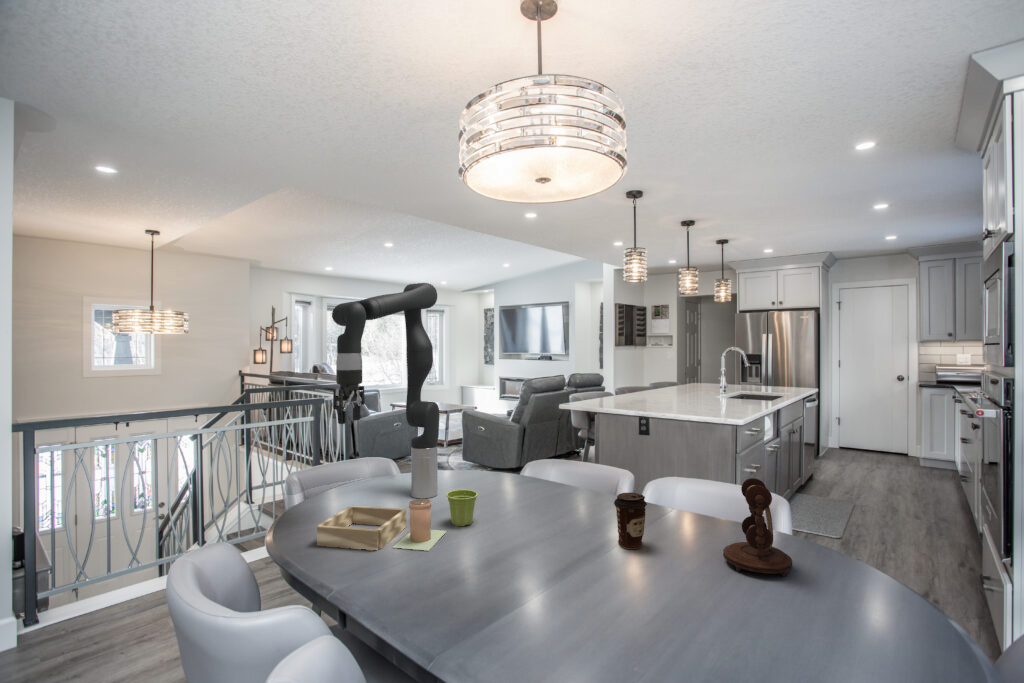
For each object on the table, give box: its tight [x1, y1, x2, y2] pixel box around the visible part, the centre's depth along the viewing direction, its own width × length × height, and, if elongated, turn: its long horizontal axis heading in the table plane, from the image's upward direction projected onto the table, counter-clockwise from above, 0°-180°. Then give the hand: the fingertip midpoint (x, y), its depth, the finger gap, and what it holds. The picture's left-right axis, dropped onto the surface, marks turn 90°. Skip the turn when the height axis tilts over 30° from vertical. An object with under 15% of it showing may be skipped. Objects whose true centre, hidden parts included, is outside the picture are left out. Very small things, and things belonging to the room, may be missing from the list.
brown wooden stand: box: [722, 477, 793, 578], centre depth 121 cm, size 15×15×20 cm
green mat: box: [392, 529, 448, 552], centre depth 138 cm, size 14×10×1 cm
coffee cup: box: [613, 492, 648, 550], centre depth 134 cm, size 9×8×13 cm
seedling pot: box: [408, 498, 432, 543], centre depth 139 cm, size 6×6×10 cm
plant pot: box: [446, 489, 479, 527], centre depth 152 cm, size 9×9×9 cm
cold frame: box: [316, 505, 407, 551], centre depth 142 cm, size 18×18×5 cm
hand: (349, 421), depth 154 cm, fingers open, 8 cm apart
